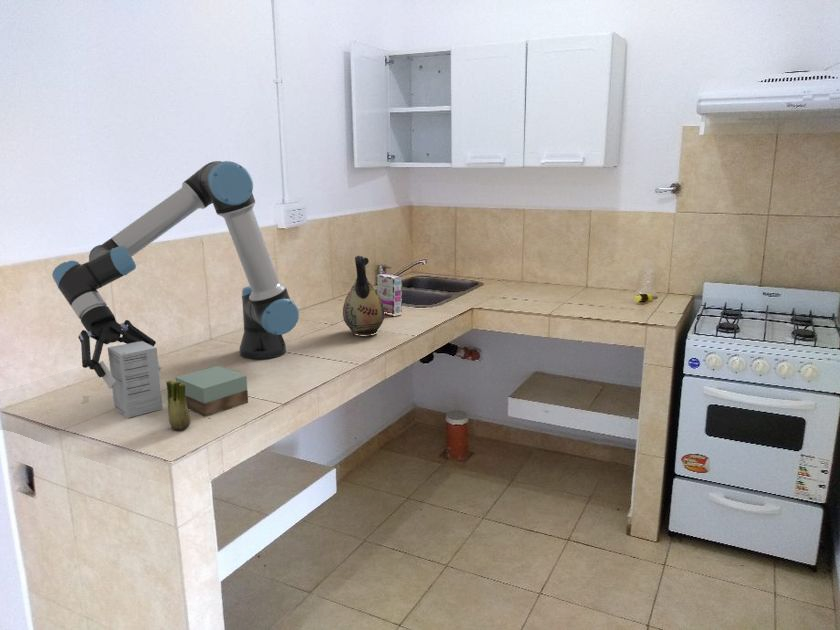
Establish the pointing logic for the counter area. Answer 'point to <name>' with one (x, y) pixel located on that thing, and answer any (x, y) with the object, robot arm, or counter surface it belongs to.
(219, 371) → the tower top
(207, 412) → the tower base
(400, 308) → the candy bar box
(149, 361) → the supplement box
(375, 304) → the ceramic jug
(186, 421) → the fennel bulb
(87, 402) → the counter surface
